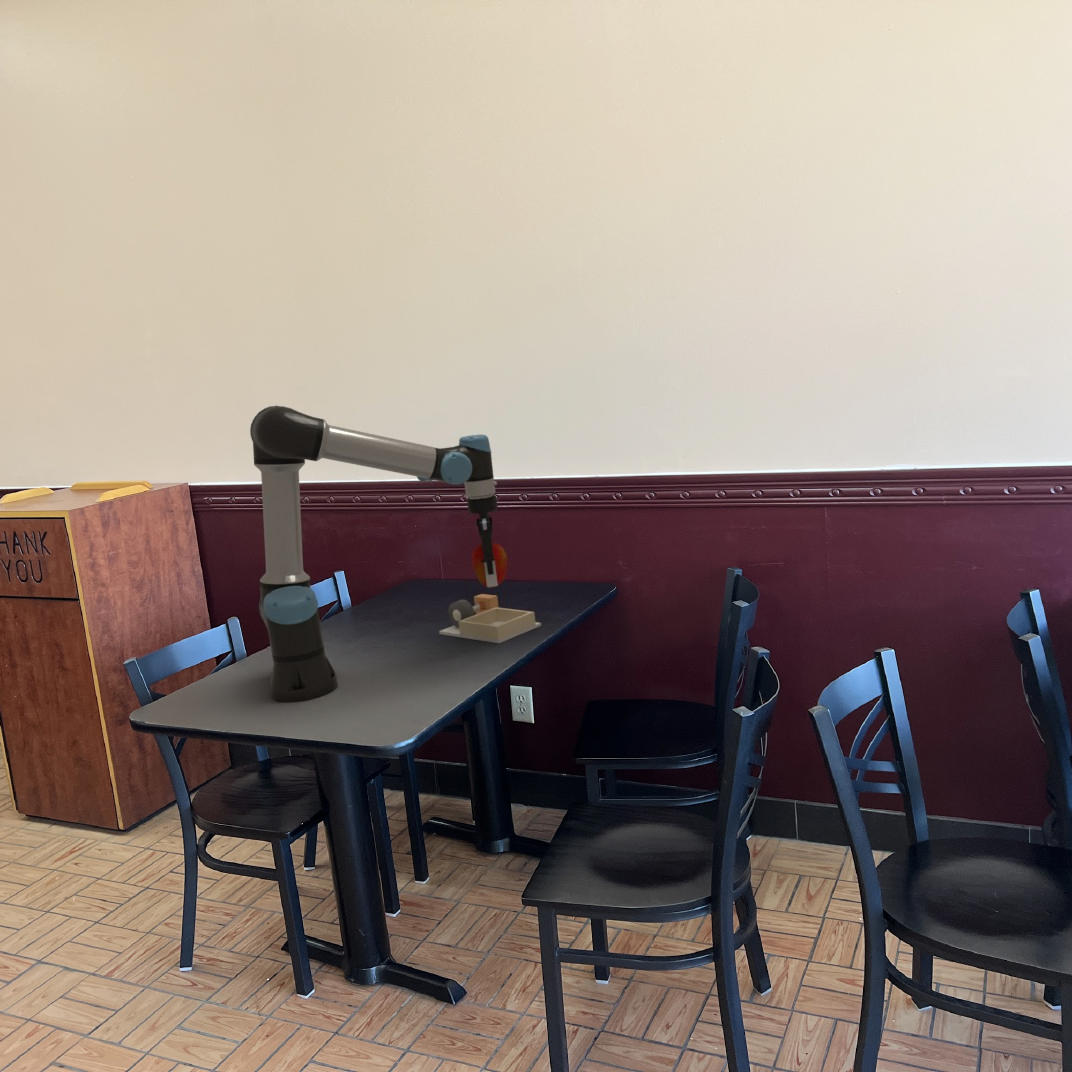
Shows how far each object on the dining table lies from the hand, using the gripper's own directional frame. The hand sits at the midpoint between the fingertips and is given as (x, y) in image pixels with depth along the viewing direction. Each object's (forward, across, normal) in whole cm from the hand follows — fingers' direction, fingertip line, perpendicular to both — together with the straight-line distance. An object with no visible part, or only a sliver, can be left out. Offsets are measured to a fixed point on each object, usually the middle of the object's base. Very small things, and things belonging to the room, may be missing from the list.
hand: (492, 581), depth 251 cm
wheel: (+12, +8, +8) cm, 17 cm away
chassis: (+14, +4, +2) cm, 14 cm away
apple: (+1, 0, 0) cm, 1 cm away
